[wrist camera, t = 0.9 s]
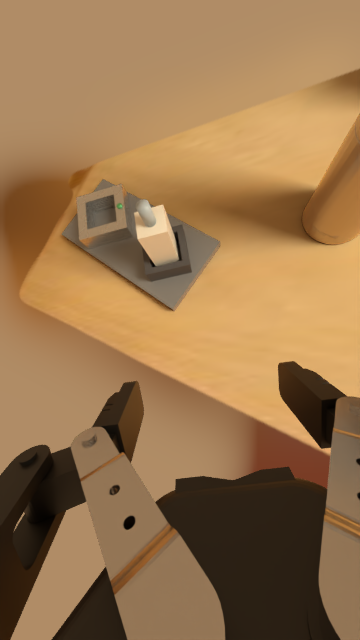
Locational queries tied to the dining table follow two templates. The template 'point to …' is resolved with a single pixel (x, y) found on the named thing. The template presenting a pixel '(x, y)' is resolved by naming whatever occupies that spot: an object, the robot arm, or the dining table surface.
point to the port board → (130, 256)
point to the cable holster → (170, 268)
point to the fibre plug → (156, 233)
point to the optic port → (99, 203)
